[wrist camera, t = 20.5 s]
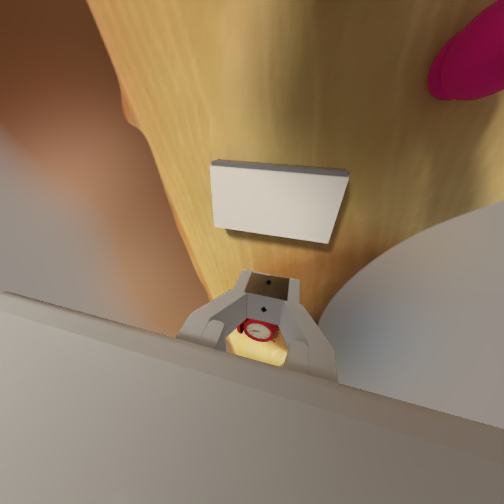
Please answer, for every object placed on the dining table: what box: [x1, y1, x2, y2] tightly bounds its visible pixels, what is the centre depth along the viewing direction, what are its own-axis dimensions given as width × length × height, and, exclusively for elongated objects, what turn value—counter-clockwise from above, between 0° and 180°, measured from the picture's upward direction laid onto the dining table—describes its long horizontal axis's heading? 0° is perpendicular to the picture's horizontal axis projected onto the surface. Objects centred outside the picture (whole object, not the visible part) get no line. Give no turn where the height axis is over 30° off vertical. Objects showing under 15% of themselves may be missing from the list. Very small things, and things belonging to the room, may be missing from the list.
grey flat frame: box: [212, 159, 349, 241], centre depth 33 cm, size 12×22×3 cm, turn 87°
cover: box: [210, 165, 349, 244], centre depth 31 cm, size 11×22×1 cm, turn 87°
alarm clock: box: [237, 318, 280, 342], centre depth 54 cm, size 10×6×15 cm
